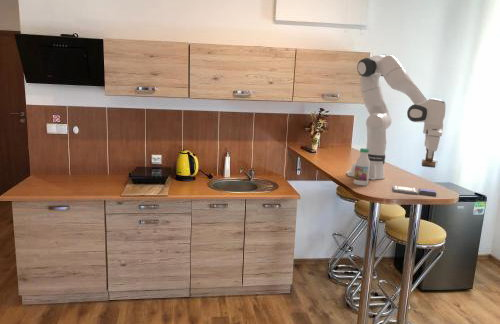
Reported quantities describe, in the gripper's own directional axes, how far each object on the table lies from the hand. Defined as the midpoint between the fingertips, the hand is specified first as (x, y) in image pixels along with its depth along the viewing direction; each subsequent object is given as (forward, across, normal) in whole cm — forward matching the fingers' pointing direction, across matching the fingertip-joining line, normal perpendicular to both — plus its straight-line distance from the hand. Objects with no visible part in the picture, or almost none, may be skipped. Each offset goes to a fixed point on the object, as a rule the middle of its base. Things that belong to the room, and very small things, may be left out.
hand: (428, 157), depth 204 cm
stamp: (+5, 0, 0) cm, 5 cm away
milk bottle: (+20, -3, -32) cm, 38 cm away
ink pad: (+19, 0, +2) cm, 19 cm away
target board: (+19, 0, -9) cm, 21 cm away
